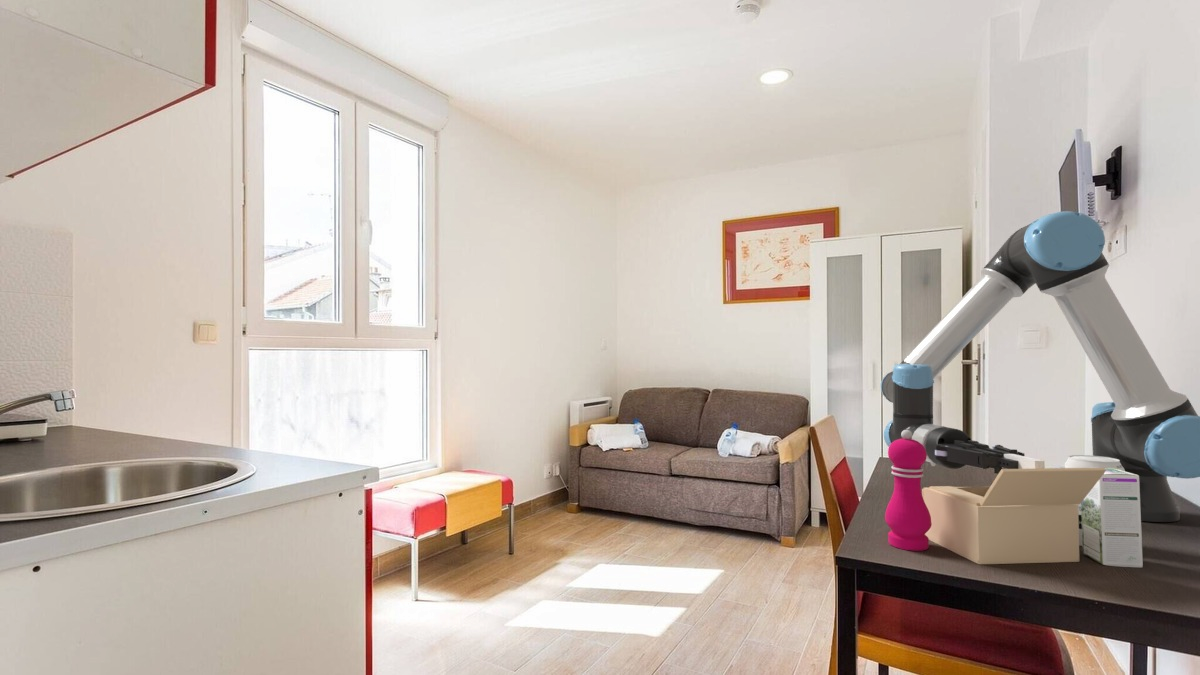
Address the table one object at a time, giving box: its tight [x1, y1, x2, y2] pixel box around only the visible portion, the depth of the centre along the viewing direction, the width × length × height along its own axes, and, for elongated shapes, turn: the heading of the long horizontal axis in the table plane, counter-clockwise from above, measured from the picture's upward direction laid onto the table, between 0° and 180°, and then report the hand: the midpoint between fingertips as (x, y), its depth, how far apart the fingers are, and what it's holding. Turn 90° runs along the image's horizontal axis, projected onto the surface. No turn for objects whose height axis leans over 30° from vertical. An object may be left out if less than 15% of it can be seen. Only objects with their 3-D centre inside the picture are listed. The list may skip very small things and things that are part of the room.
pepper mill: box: [884, 430, 932, 552], centre depth 105 cm, size 7×7×20 cm
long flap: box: [980, 467, 1106, 506], centre depth 93 cm, size 17×1×8 cm
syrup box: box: [1081, 467, 1144, 569], centre depth 97 cm, size 6×6×14 cm
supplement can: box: [1064, 454, 1125, 547], centre depth 105 cm, size 8×8×15 cm
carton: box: [921, 485, 1080, 565], centre depth 103 cm, size 17×15×9 cm
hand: (1039, 469), depth 93 cm, fingers closed
